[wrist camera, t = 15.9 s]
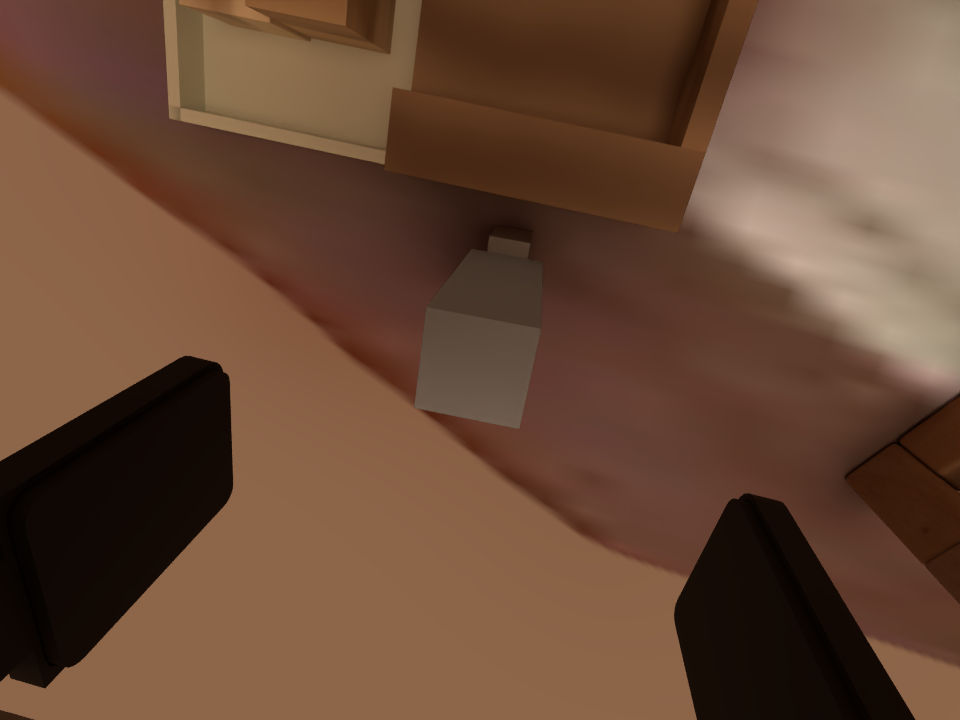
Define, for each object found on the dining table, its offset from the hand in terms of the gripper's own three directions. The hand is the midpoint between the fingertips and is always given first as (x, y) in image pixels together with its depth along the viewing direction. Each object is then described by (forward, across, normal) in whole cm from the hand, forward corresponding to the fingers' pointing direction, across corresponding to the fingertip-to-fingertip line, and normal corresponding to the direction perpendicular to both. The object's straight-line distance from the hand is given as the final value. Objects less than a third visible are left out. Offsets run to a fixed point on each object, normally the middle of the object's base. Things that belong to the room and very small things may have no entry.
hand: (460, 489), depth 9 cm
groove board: (+21, +1, -10) cm, 23 cm away
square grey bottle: (+21, +1, +1) cm, 21 cm away
